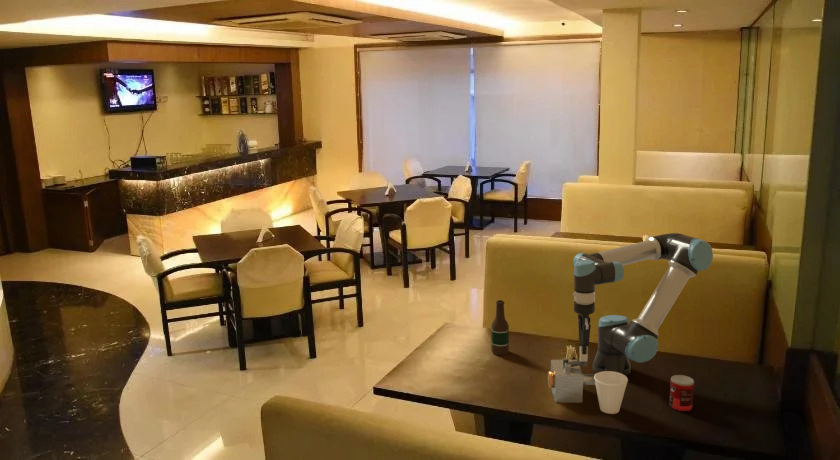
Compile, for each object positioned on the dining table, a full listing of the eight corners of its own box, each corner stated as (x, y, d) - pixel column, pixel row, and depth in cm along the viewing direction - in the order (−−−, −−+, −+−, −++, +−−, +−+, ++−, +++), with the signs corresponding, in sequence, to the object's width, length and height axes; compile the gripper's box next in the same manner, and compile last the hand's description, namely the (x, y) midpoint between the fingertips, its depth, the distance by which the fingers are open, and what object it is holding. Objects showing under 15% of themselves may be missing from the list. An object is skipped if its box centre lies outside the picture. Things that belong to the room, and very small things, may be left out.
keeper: (585, 361, 254) (584, 357, 254) (587, 366, 250) (587, 362, 250) (564, 364, 255) (563, 361, 255) (565, 369, 251) (565, 365, 251)
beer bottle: (508, 356, 291) (508, 304, 286) (490, 355, 293) (490, 303, 288) (509, 349, 299) (509, 298, 294) (492, 348, 300) (492, 297, 295)
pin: (593, 383, 257) (594, 368, 256) (596, 391, 251) (597, 375, 250) (547, 383, 258) (547, 368, 257) (549, 390, 252) (550, 375, 251)
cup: (633, 411, 241) (635, 380, 238) (609, 420, 235) (611, 388, 232) (609, 398, 251) (610, 368, 248) (586, 406, 245) (587, 375, 242)
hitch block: (576, 385, 262) (576, 354, 259) (582, 402, 248) (583, 369, 245) (550, 385, 263) (551, 354, 260) (555, 402, 249) (556, 369, 246)
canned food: (673, 400, 248) (674, 372, 246) (695, 406, 243) (697, 378, 241) (665, 408, 243) (667, 380, 240) (688, 414, 238) (690, 386, 235)
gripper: (571, 296, 253) (570, 354, 258) (577, 307, 241) (576, 368, 246) (591, 296, 253) (590, 353, 258) (598, 307, 240) (597, 367, 245)
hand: (583, 360), depth 252 cm, fingers closed
